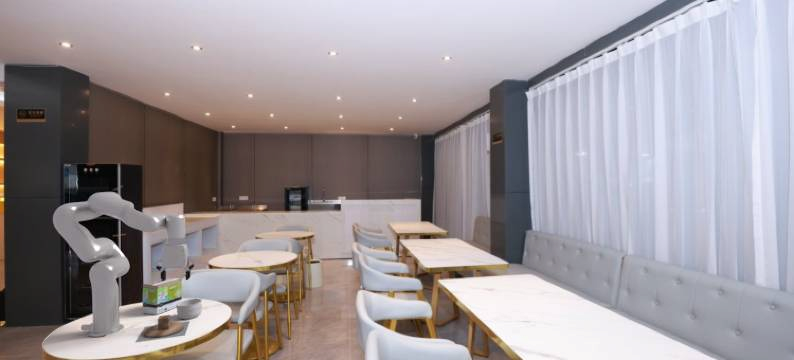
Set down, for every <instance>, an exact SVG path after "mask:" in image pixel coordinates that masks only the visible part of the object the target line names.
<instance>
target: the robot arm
mask: <svg viewBox="0 0 794 360" xmlns="http://www.w3.org/2000/svg"><path fill="white" fill-rule="evenodd" d="M102 215H105V216H109V217H112V218H114V219H118V220H120V221H122V223H124V224H125V225H126V226H128V227H130V228H132V229H135V230H139V231H142V232H144V233H156V232H159V231H164V230H165V239H162V243H165V245H163V249H162V252H161V253H162V255H161V258H160V259H158V260H156V261H154V262H153V265H154V266H155V268H156V270H158V271H159V273H160V280H161V279H162V281H164V280H166V278H167V271H166V269H181V268H184V269H185V281H188V280H189V279H190V278H191V270H192V269H193V268H194V267H195V266H196V264H197V263H198V260H197V259H194V258H193V257H190V255H189V254H190V253H189V247H188V244H187V243H186V216H185V214H182V213H173V214H171V213H170V214H169V213H154V214H147V213H145V212H142V211H139V210H136V209H135V206H134V203H133V202H131V201H128V200H125V199H123V198H122V196H121V195H120V194H118V193H117V192H113V191H104V192H95V193H93V194H92V195H90V196H89V198H88V199H87V200H86V201H79V202H77V201H76V202H68V203H64V204H62V205H60V206H58V207H57V208H56V210H55V211H54V213H53V215H52V223H53V225H54V228H55V229H56V231H57V232H58V234H59V235H60V236H61V237H62V238H63V239H64V240H65V242H66V243H67V244H68V246H69V247H70V248H71V249H72V250H73V251H74V253H75V254H76V255H77V257H78V258H79V259H80V260H81V261H82V262H84V263H93V262H96V263H94V264H93V265H92V266H91V268H90V270H89V281H90V283H91V284H90V285H91V295H92V296H91V297H92V300H91V301H92V322H91V323H88V324H86V323H85V324H81V326H80V330H82V331H88V333H87V335H88V336H89V337H93V338H99V337H106V336H107V335H108V336H109V335H112V334H115V333H118V332H120V331H123V330H124V326H125V325H124V324H122V323H120V288H119V284H118V282H117V279H118V278H119V277H122V276H124V275H125V274H127V273H128V272H129V270H130V267H131V266H130V263H129V260H128V258H127V257H126V256H125V253H123V252H122V250H121V249H120V248H119V246H118V245H117V244H116V243H115V242H114V241H113V240H111V239H109V238H107V237H99V238H98V237H97V238H95V236H94V235H92V233H91V231H89V229H88V228H86V227H85V226H84V225H82V224H80V223H79V222H83V221H89V220H93V219H96V218H99V217H100V216H102ZM97 261H98V262H97ZM190 262H191V263H192V264H191V265H189V264H190ZM160 263H161V265H160Z"/></svg>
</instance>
